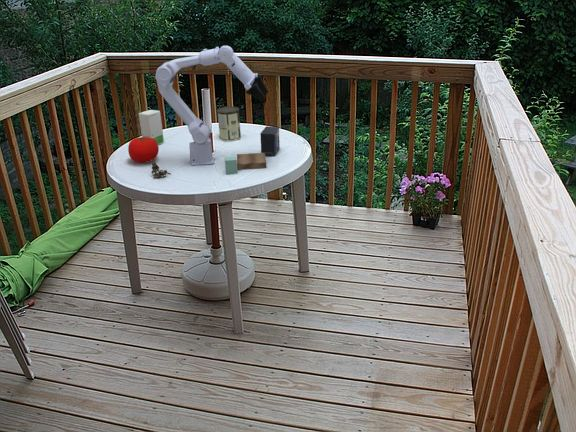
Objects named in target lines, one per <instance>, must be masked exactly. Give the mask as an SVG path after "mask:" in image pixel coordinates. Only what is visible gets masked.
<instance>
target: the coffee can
mask: <svg viewBox="0 0 576 432" xmlns="http://www.w3.org/2000/svg"><path fill="white" fill-rule="evenodd" d="M216 112H217V121H218V132H219V140H220V139H221V140H220V141H222V140H223V141H222V142H235V140H236V141H238V140H240V139H241V138H242V136H241V135H242V133H241V121H240V108H239V107H237V106H223V107H220V108H217V109H216Z"/></svg>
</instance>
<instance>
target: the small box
mask: <svg viewBox="0 0 576 432" xmlns="http://www.w3.org/2000/svg"><path fill="white" fill-rule="evenodd" d="M259 135H260V153H265V157H275V156H277V155H276V154H277V153H278V152H279V150H280V148H281V147H280V127H279V126H267V125H266V126H265V127H264V128H263V129H262V131H261V132H260V134H259Z"/></svg>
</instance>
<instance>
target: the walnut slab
mask: <svg viewBox="0 0 576 432" xmlns="http://www.w3.org/2000/svg"><path fill="white" fill-rule="evenodd" d="M236 159H237V171H238V170H241V171H242V170H255V169H267V160H266V159H267V157H266V156H265V153H261V152H255V153H237V154H236Z"/></svg>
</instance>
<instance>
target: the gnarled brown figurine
mask: <svg viewBox="0 0 576 432" xmlns="http://www.w3.org/2000/svg"><path fill="white" fill-rule="evenodd" d="M151 169H152V170H151V174H152V175H151V176H150V177H151V178H152V179H161V178H165V177H167V176H170V175H172V174H171V173H170V172H168V169H160V166H159V165H158V164H157V163H156V162H152V163H151Z"/></svg>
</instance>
